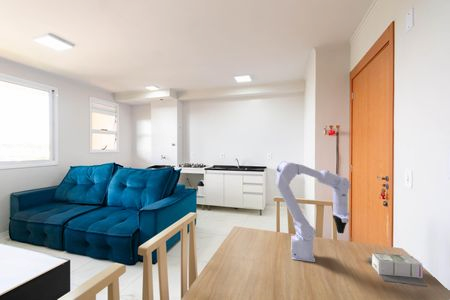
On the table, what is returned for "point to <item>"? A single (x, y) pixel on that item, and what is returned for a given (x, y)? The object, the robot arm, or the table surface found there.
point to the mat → (401, 278)
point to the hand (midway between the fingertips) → (340, 232)
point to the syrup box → (397, 265)
